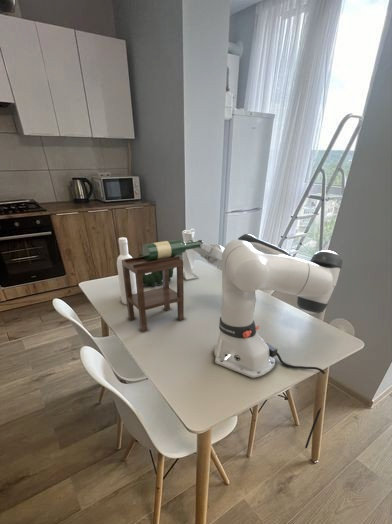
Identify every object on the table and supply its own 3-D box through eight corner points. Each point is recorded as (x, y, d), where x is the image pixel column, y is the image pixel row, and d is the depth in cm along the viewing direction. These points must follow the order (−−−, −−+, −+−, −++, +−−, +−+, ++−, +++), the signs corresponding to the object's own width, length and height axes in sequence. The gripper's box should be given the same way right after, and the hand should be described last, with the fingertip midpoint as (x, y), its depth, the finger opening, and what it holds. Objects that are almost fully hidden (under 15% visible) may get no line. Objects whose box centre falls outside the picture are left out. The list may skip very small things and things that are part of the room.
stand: (183, 319, 132) (183, 258, 117) (142, 331, 122) (136, 267, 107) (167, 307, 141) (165, 249, 126) (128, 318, 132) (121, 257, 117)
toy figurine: (142, 294, 158) (182, 281, 169) (135, 259, 147) (178, 247, 157) (134, 288, 165) (173, 276, 175) (128, 254, 154) (170, 243, 164)
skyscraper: (198, 279, 173) (199, 228, 158) (185, 281, 170) (185, 229, 155) (192, 274, 180) (193, 225, 164) (180, 276, 177) (179, 226, 161)
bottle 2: (205, 253, 127) (205, 237, 123) (150, 263, 114) (149, 245, 111) (196, 250, 131) (196, 234, 128) (142, 259, 119) (141, 242, 115)
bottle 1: (134, 305, 143) (127, 241, 126) (119, 304, 144) (110, 239, 127) (140, 298, 149) (134, 236, 132) (125, 297, 150) (117, 235, 134)
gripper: (227, 268, 128) (206, 256, 119) (200, 256, 142) (178, 244, 132) (234, 254, 127) (212, 241, 117) (206, 243, 141) (184, 231, 131)
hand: (194, 242), depth 125 cm, fingers open, 8 cm apart
